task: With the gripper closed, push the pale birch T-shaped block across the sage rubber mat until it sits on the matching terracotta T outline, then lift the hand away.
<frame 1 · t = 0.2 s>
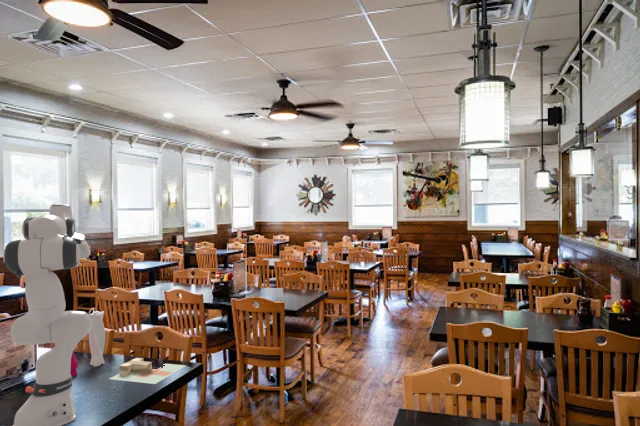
hand: (64, 267, 201), 52 cm above the table, tool tilted 20°, fingers open, 8 cm apart
skyscraper: (97, 364, 224), on the table
T block: (139, 370, 213), resting on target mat
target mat: (148, 372, 211), on the table
pepper mill: (69, 375, 209), on the table
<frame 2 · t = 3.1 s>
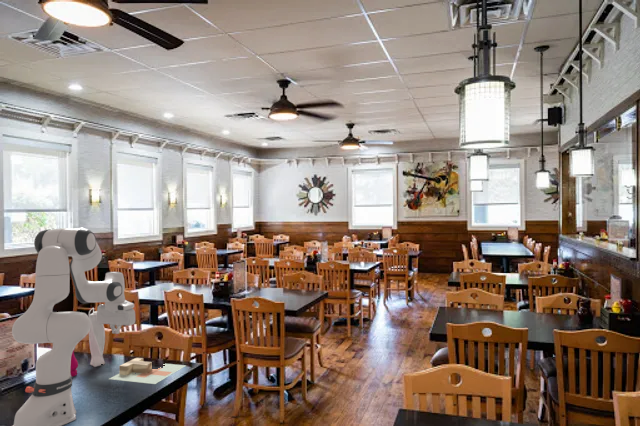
hand: (115, 333, 216), 17 cm above the table, tool pointing down, fingers closed
nothing on the table moved.
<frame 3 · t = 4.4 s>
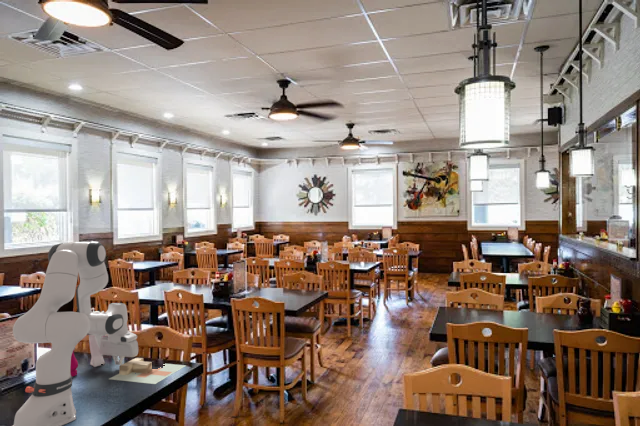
hand: (118, 364, 216), 2 cm above the table, tool pointing down, fingers closed
nothing on the table moved.
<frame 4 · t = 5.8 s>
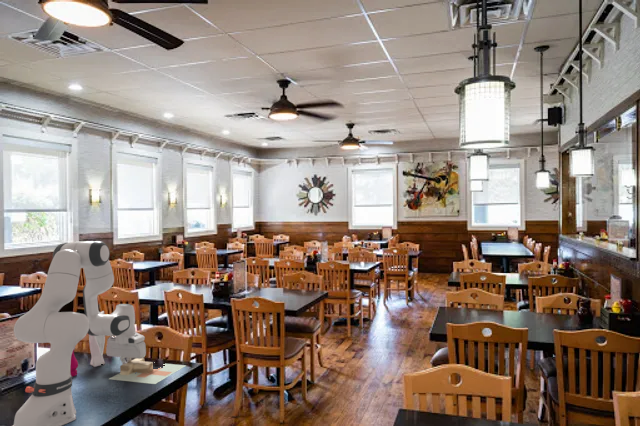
hand: (126, 366, 215), 2 cm above the table, tool pointing down, fingers closed
T block: (139, 371, 213), resting on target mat, touching gripper
everything else where it was.
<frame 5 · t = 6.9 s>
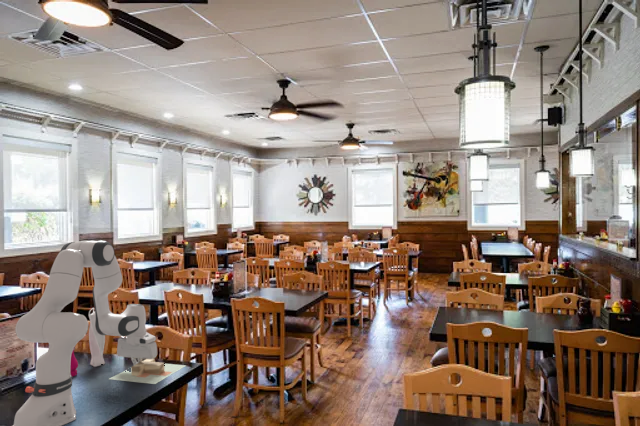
hand: (137, 366, 213), 2 cm above the table, tool pointing down, fingers closed
T block: (150, 371, 211), resting on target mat, touching gripper
everything else where it was.
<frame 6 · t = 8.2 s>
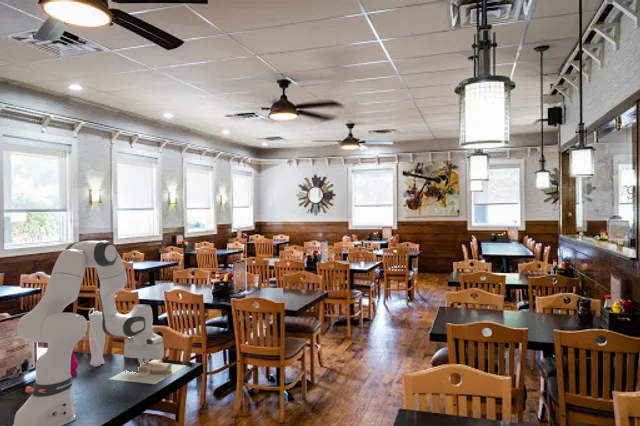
hand: (144, 367, 212), 2 cm above the table, tool pointing down, fingers closed
T block: (157, 372, 210), resting on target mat, touching gripper
everything else where it was.
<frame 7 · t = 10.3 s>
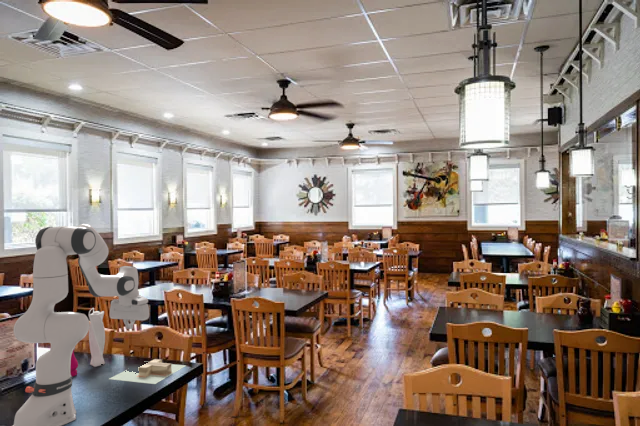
hand: (129, 328, 214), 20 cm above the table, tool pointing down, fingers closed
T block: (157, 372, 210), resting on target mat
everything else where it was.
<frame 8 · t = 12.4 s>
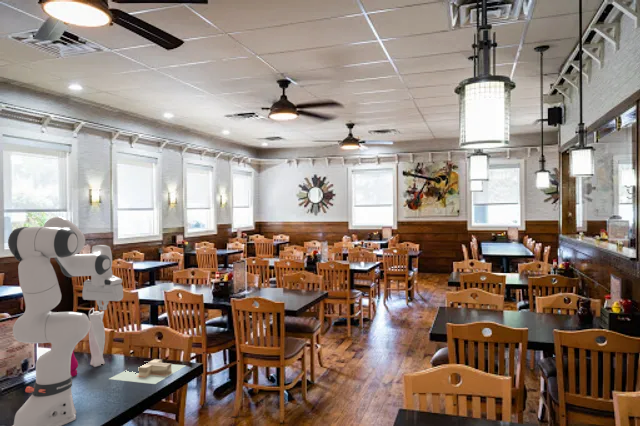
hand: (102, 309, 206), 31 cm above the table, tool pointing down, fingers closed
nothing on the table moved.
at the end: T block 0.4 cm from the target spot, resting on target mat; T block tilted 0° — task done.
